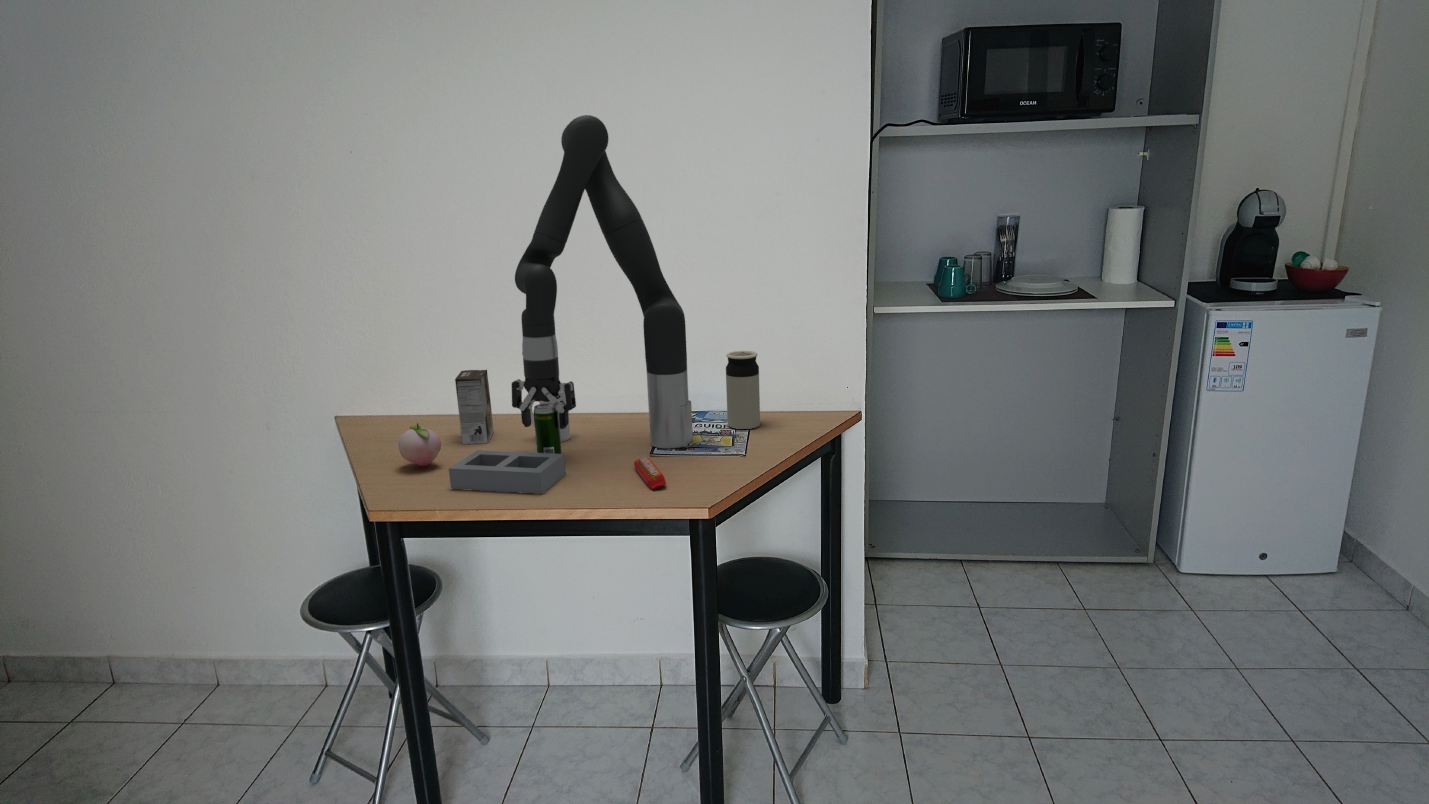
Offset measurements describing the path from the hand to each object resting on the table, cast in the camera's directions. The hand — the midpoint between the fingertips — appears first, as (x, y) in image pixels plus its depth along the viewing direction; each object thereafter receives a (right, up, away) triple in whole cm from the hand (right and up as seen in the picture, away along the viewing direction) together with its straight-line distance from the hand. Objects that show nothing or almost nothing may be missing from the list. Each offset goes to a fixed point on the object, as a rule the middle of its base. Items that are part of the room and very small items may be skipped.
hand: (545, 427), depth 199 cm
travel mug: (+45, 0, +21) cm, 49 cm away
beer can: (+1, -7, +2) cm, 7 cm away
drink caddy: (-5, -11, -13) cm, 18 cm away
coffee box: (-20, -3, +18) cm, 27 cm away
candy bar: (+24, -11, -14) cm, 30 cm away
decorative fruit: (-27, -9, -2) cm, 28 cm away
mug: (-2, -3, +16) cm, 16 cm away
